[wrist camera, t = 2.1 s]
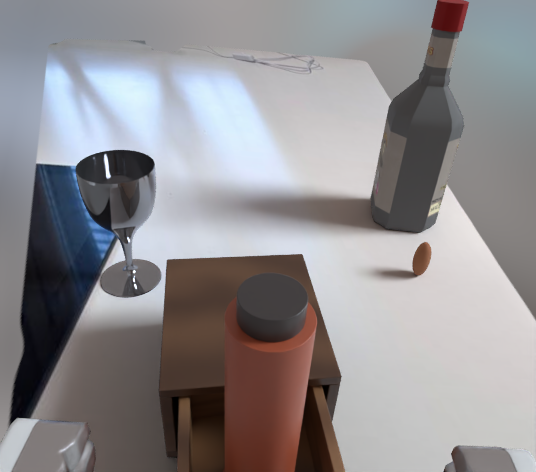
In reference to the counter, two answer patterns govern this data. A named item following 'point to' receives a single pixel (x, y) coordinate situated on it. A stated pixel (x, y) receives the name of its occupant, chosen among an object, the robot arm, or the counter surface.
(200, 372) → the cabinet
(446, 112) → the liquor
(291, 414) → the pepper mill
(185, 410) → the drawer
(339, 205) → the counter surface
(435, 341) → the counter surface
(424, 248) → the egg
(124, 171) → the wine glass
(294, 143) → the counter surface
